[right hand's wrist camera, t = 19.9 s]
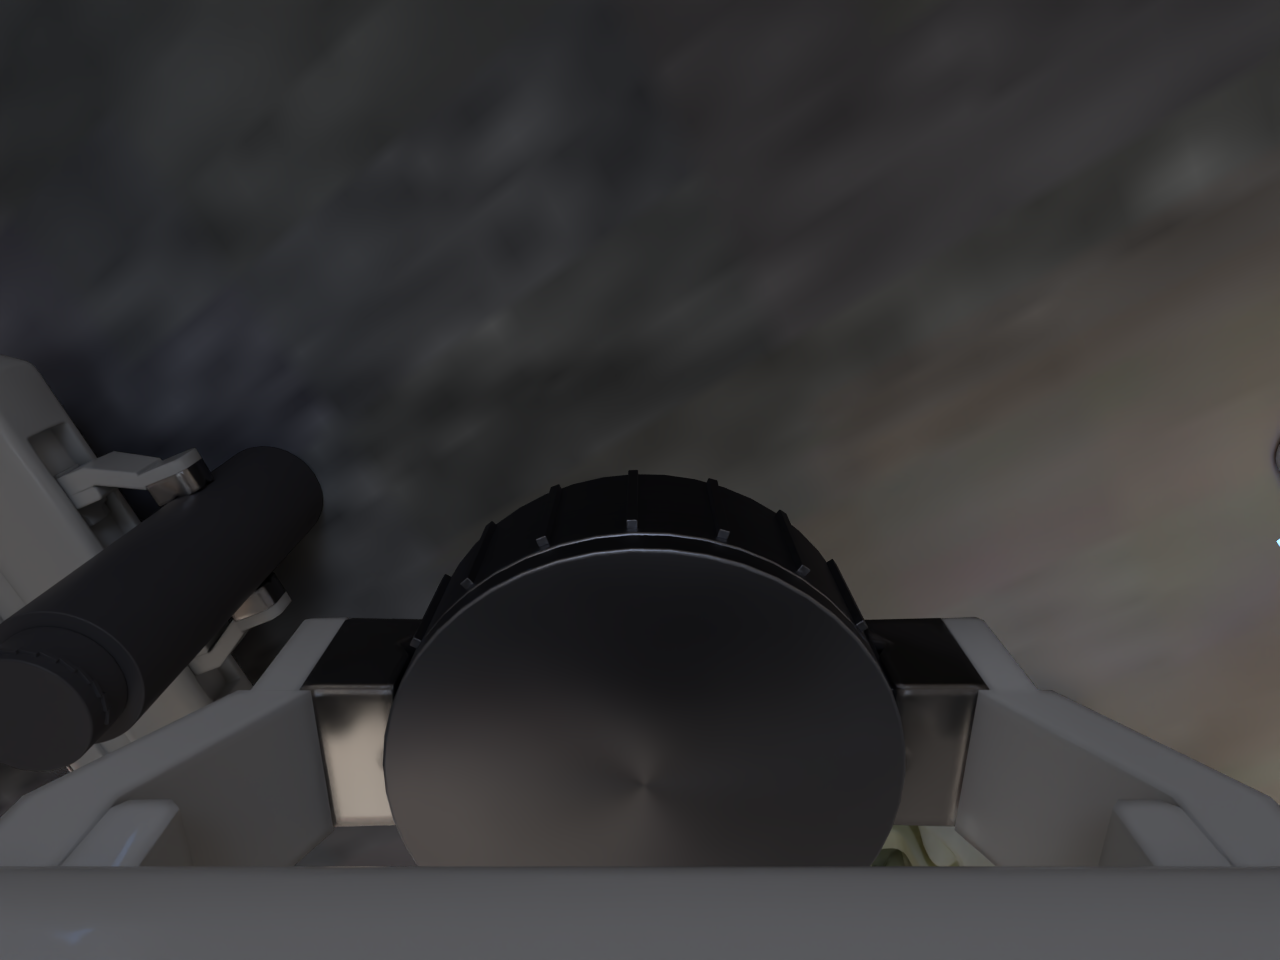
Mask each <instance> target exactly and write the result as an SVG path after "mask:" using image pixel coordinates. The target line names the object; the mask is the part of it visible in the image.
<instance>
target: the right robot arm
mask: <svg viewBox="0 0 1280 960" xmlns="http://www.w3.org/2000/svg"><path fill="white" fill-rule="evenodd" d="M1275 460H1276V465H1277V467H1278V469H1279V471H1280V444H1279V446H1278V449H1277V452H1276V458H1275ZM1277 543H1278V544H1279V545H1280V539H1279V540H1278V541H1277ZM421 621H422V619H379V618H351V619H350V618H348V617H334V618H310V619H305V620H304V621H303V622H302V623H301V625H300V626H299V627H298V629H297V630H296V631H295V633H294V634H293V635H292V636H291V638H290V639H289V640H288V642H287V643H286V644H285V646H284V647H283V648H282V649H281V651H280V652H279V653H278V655H277V656H276V657H275V659H274V660H273V661H272V663H271V664H270V665H269V666H268V668H267V669H266V670H265V672H264V673H263V674H262V676H261V677H260V678H259V679H258V681H257V682H256V683H255V685H254V686H253V687H252V689H251V690H237V691H235V692H233V693H231V694H229V695H227V696H225V697H223V698H221V699H219V700H217V701H215V702H213V703H210V704H208V705H206V706H204V707H202V708H200V709H198V710H196V711H194V712H192V713H190V714H188V715H186V716H184V717H182V718H180V719H178V720H176V721H174V722H172V723H170V724H168V725H166V726H164V727H162V728H160V729H158V730H155V731H153V732H151V733H149V734H147V735H145V736H143V737H141V738H139V739H137V740H135V741H133V742H131V743H129V744H127V745H125V746H123V747H121V748H119V749H117V750H115V751H113V752H111V753H109V754H107V755H105V756H102V757H100V758H98V759H96V760H94V761H92V762H90V763H88V764H86V765H84V766H82V767H80V768H78V769H76V770H74V771H72V772H70V773H68V774H66V775H64V776H62V777H60V778H58V779H56V780H54V781H52V782H50V783H47V784H45V785H43V786H41V787H39V788H37V789H35V790H33V791H31V792H29V793H27V794H25V795H23V796H22V797H21V798H20V799H19V800H18V801H17V802H16V803H15V804H14V805H13V806H12V807H11V808H10V809H9V810H8V811H7V812H6V813H5V814H4V815H3V816H2V817H1V818H0V960H1280V806H1279V805H1278V804H1277V803H1276V802H1275V801H1274V800H1273V799H1272V798H1271V797H1269V796H1267V795H1265V794H1263V793H1261V792H1259V791H1257V790H1255V789H1253V788H1251V787H1249V786H1247V785H1245V784H1243V783H1241V782H1239V781H1237V780H1235V779H1233V778H1231V777H1228V776H1226V775H1224V774H1222V773H1220V772H1218V771H1216V770H1214V769H1212V768H1210V767H1208V766H1206V765H1204V764H1202V763H1200V762H1198V761H1196V760H1194V759H1192V758H1189V757H1187V756H1185V755H1183V754H1181V753H1179V752H1177V751H1175V750H1173V749H1171V748H1169V747H1167V746H1165V745H1163V744H1161V743H1159V742H1157V741H1155V740H1153V739H1151V738H1148V737H1146V736H1144V735H1142V734H1140V733H1138V732H1136V731H1134V730H1132V729H1130V728H1128V727H1126V726H1124V725H1122V724H1120V723H1118V722H1116V721H1114V720H1112V719H1109V718H1107V717H1105V716H1103V715H1101V714H1099V713H1097V712H1095V711H1093V710H1091V709H1089V708H1087V707H1085V706H1083V705H1081V704H1079V703H1077V702H1075V701H1073V700H1071V699H1068V698H1066V697H1064V696H1062V695H1060V694H1058V693H1056V692H1054V691H1052V690H1038V689H1037V687H1036V686H1035V685H1034V684H1033V682H1032V681H1031V680H1030V679H1029V677H1028V676H1027V675H1026V674H1025V672H1024V671H1023V670H1022V668H1021V667H1020V666H1019V665H1018V663H1017V662H1016V661H1015V660H1014V658H1013V657H1012V656H1011V655H1010V653H1009V652H1008V651H1007V649H1006V648H1005V647H1004V646H1003V644H1002V643H1001V642H1000V641H999V639H998V638H997V637H996V635H995V634H994V633H993V632H992V630H991V629H990V628H989V627H988V625H987V624H986V623H985V622H984V620H982V619H979V618H977V617H963V618H924V619H883V620H865V622H866V624H867V626H868V628H867V629H866V630H864V631H865V634H866V636H867V638H868V639H870V640H872V642H873V644H874V646H875V648H876V650H877V652H878V654H879V662H880V664H881V666H882V668H883V670H884V672H885V674H886V676H887V678H888V680H889V682H890V684H891V686H892V688H893V695H894V698H895V701H896V704H897V707H898V710H899V713H900V716H901V721H902V728H903V734H904V740H905V778H904V784H903V790H902V796H901V802H900V806H899V809H898V812H897V815H896V818H895V821H894V824H893V825H913V826H949V827H955V829H954V830H955V831H956V832H957V833H958V834H960V835H961V836H962V837H963V838H964V839H965V840H966V841H967V842H969V843H970V844H971V845H972V846H973V847H974V848H975V849H977V850H978V851H979V852H980V853H981V854H982V855H983V856H985V857H986V858H987V859H988V860H989V861H990V862H991V863H992V864H994V865H995V866H294V865H295V864H297V863H298V862H299V861H300V860H301V859H302V858H303V857H305V856H306V855H307V854H308V853H309V852H310V851H311V850H312V849H314V848H315V847H316V846H317V845H318V844H319V843H320V842H321V841H323V840H324V839H325V838H326V837H327V836H328V835H329V834H330V833H332V832H333V831H334V829H333V827H339V826H374V825H395V823H394V821H393V817H392V813H391V810H390V806H389V802H388V799H387V795H386V789H385V780H384V771H383V749H384V734H385V730H386V725H387V721H388V716H389V712H390V707H391V705H392V702H393V700H394V697H395V695H396V692H397V690H398V687H399V685H400V682H401V680H402V678H403V676H404V673H405V671H406V669H407V667H408V665H409V663H410V661H411V659H412V657H413V655H414V652H415V650H416V648H414V647H412V646H410V643H411V641H412V639H413V637H414V635H415V633H416V631H417V629H418V627H419V625H420V623H421Z"/></svg>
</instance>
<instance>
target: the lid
mask: <svg viewBox="0 0 1280 960" xmlns="http://www.w3.org/2000/svg"><path fill="white" fill-rule="evenodd" d="M867 628H868V626H867V624H866V622H865V620H864V618H863V616H862V614H861V612H860V610H859V608H858V606H857V604H856V602H855V600H854V598H853V596H852V594H851V592H850V590H849V588H848V586H847V584H846V582H845V580H844V578H843V576H842V574H841V572H840V570H839V568H838V566H837V564H836V563H835V562H834V560H833V559H831V560H830V561H828V562H826V561H825V559H824V558H823V557H822V555H821V554H820V553H819V551H818V550H817V549H816V548H815V547H814V546H813V545H812V544H811V543H810V542H809V541H808V540H807V539H806V538H805V537H804V536H803V534H802V533H801V532H800V531H799V530H797V529H796V528H795V527H793V526H792V525H791V523H790V521H789V519H788V516H787V514H786V513H784V512H783V511H781V510H779V511H778V512H777V513H775V512H773V511H772V510H770V509H768V508H766V507H765V506H763V505H761V504H759V503H758V502H756V501H754V500H753V499H751V498H748V497H746V496H743V495H741V494H739V493H736V492H734V491H731V490H729V489H727V488H724V487H721V486H718V482H717V480H714V479H710V478H709V479H708V481H707V483H706V482H703V481H699V480H695V479H689V478H682V477H675V476H668V475H643V474H638V470H629V471H628V475H622V476H612V477H603V478H598V479H594V480H590V481H585V482H581V483H577V484H573V485H570V486H567V487H565V488H562V489H561V487H560V485H559V484H558V485H556V486H553V487H551V489H550V492H549V493H548V494H546V495H544V496H542V497H540V498H538V499H536V500H534V501H532V502H530V503H528V504H526V505H524V506H522V507H521V508H519V509H517V510H516V511H515V512H513V513H512V514H510V515H509V516H507V517H506V518H505V519H503V520H502V521H500V522H499V523H498V524H495V523H494V522H493V521H491V522H490V523H489V524H488V525H486V527H485V529H484V531H483V534H482V536H481V538H480V540H479V541H478V542H477V543H476V544H475V545H474V546H473V548H472V549H471V550H470V551H469V552H468V554H467V555H466V556H465V557H464V559H463V560H462V561H461V562H460V564H459V565H458V567H457V568H456V570H455V572H454V574H453V575H452V577H450V576H448V575H446V574H445V575H444V577H443V578H442V580H441V582H440V584H439V586H438V588H437V590H436V592H435V594H434V596H433V598H432V600H431V602H430V604H429V607H428V609H427V611H426V613H425V615H424V617H423V619H422V621H421V623H420V625H419V627H418V629H417V631H416V633H415V635H414V637H413V639H412V641H411V643H410V646H412V647H414V648H416V650H415V652H414V655H413V657H412V659H411V661H410V663H409V665H408V667H407V669H406V671H405V673H404V676H403V678H402V680H401V682H400V685H399V687H398V690H397V692H396V695H395V697H394V700H393V702H392V705H391V707H390V712H389V716H388V721H387V725H386V730H385V734H384V749H383V771H384V780H385V789H386V795H387V799H388V802H389V806H390V810H391V813H392V817H393V821H394V823H395V825H396V827H397V829H398V832H399V834H400V836H401V838H402V841H403V843H404V845H405V847H406V848H407V850H408V852H409V853H410V855H411V856H412V858H413V860H414V861H415V863H416V864H417V866H871V865H872V863H873V862H874V860H875V859H876V858H877V856H878V855H879V853H880V851H881V849H882V847H883V845H884V843H885V841H886V839H887V837H888V835H889V833H890V831H891V829H892V827H893V824H894V821H895V818H896V815H897V812H898V809H899V806H900V802H901V796H902V790H903V784H904V778H905V740H904V734H903V728H902V721H901V716H900V713H899V710H898V707H897V704H896V701H895V698H894V695H893V688H892V686H891V684H890V682H889V680H888V678H887V676H886V674H885V672H884V670H883V668H882V666H881V664H880V662H879V654H878V652H877V650H876V648H875V646H874V644H873V642H872V640H870V639H868V638H867V636H866V634H865V631H864V630H866V629H867Z"/></svg>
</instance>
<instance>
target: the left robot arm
mask: <svg viewBox="0 0 1280 960" xmlns="http://www.w3.org/2000/svg"><path fill="white" fill-rule="evenodd" d="M213 479H214V477H213V475H212V474H211V472H210V470H209V469H208V467H207V465H206V464H205V462H204V460H203V459H202V458H201V456H200V454H199V453H198V451H197V450H196V448H191V449H189V450H187V451H184V452H182V453H179V454H177V455H175V456H172V457H170V458H167V459H165V460H163V461H162V460H161V458H156V457H150V456H143V455H137V454H130V453H124V452H117V451H113V452H111V453H108V454H106V455H104V456H101V457H99V458H97V457H96V455H95V454H94V452H93V451H92V450H91V448H90V447H89V445H88V444H87V442H86V441H85V439H84V438H83V436H82V435H81V433H80V432H79V430H78V429H77V428H76V426H75V425H74V423H73V422H72V420H71V419H70V417H69V416H68V414H67V413H66V411H65V410H64V408H63V407H62V406H61V404H60V403H59V401H58V400H57V398H56V397H55V395H54V394H53V392H52V391H51V389H50V388H49V386H48V385H47V383H46V382H45V380H44V379H43V377H42V376H41V374H40V373H39V371H38V370H37V369H36V368H35V366H33V365H32V364H31V363H29V362H27V361H24V360H21V359H17V358H13V357H9V356H5V355H0V624H1V623H2V622H3V621H5V620H6V619H7V618H9V617H10V616H12V615H13V614H14V613H16V612H17V611H19V610H20V609H21V608H23V607H24V606H25V605H27V604H28V603H30V602H31V601H32V600H34V599H35V598H37V597H38V596H39V595H41V594H42V593H44V592H45V591H46V590H48V589H49V588H51V587H52V586H53V585H55V584H56V583H58V582H59V581H60V580H62V579H63V578H65V577H66V576H67V575H69V574H70V573H72V572H73V571H74V570H76V569H77V568H78V567H80V566H81V565H83V564H84V563H85V562H87V561H88V560H90V559H91V558H92V557H94V556H95V555H97V554H98V553H99V552H101V551H102V550H104V549H105V548H106V547H108V546H109V545H111V544H112V543H113V542H115V541H116V540H118V539H119V538H120V537H122V536H123V535H125V534H126V533H127V532H129V531H130V530H132V529H133V528H134V527H136V526H137V525H138V524H140V523H141V521H140V520H139V518H138V517H137V515H136V514H135V513H134V511H133V510H132V508H131V507H130V505H129V504H128V502H127V501H126V499H125V498H124V496H123V495H122V493H121V492H120V491H119V489H118V488H130V489H141V490H148V491H149V492H150V494H151V495H152V497H153V498H154V499H155V501H156V502H157V504H158V505H159V507H160V506H162V505H165V504H167V503H169V502H171V501H173V500H175V499H176V498H177V497H179V496H181V497H183V496H187V495H189V494H191V493H194V492H195V491H197V490H199V489H201V488H202V487H204V486H205V484H206V483H208V482H210V481H212V480H213ZM291 601H292V600H291V598H290V597H289V595H288V593H287V592H286V590H285V589H284V588H283V586H282V584H281V583H280V581H279V580H278V578H277V577H276V575H275V573H271V574H270V575H269V576H268V577H267V578H266V579H265V580H264V581H263V582H262V584H261V585H260V586H259V587H258V588H257V589H256V590H255V591H254V592H253V593H252V595H251V596H250V597H249V598H248V599H247V600H246V601H245V602H244V603H243V605H242V606H241V607H240V608H239V609H238V610H237V611H236V612H235V613H234V615H233V618H234V619H233V620H232V622H231V623H229V622H228V621H227V622H226V623H225V625H224V626H223V627H222V628H221V629H220V630H219V631H218V632H217V633H216V635H215V636H214V637H213V638H212V639H211V640H210V641H209V642H208V643H207V644H206V646H205V647H204V648H203V649H202V650H201V651H200V652H199V653H198V654H197V656H196V657H195V658H194V659H193V660H192V661H191V662H190V663H189V664H188V666H187V667H186V668H185V669H184V670H183V671H182V672H181V673H180V674H179V676H178V677H177V678H176V679H175V680H174V681H173V682H172V683H171V684H170V685H169V687H168V688H167V689H166V690H165V691H164V692H163V693H162V694H161V695H160V697H159V698H158V699H157V700H156V701H155V702H154V703H153V704H152V705H151V707H150V708H149V709H148V710H147V711H146V712H145V713H144V714H143V715H142V717H141V718H140V719H139V720H138V721H137V722H136V723H135V724H134V725H133V726H132V727H131V728H130V729H129V730H128V731H127V732H125V733H124V734H122V735H121V736H119V737H117V738H115V739H112V740H109V741H106V742H103V743H98V744H94V745H93V746H92V747H91V748H90V749H89V750H88V751H87V752H86V753H85V754H84V755H83V756H82V757H81V758H80V759H79V760H77V761H76V762H75V763H73V764H71V765H69V766H66V768H67V769H68V771H69V773H70V772H72V771H74V770H76V769H78V768H80V767H82V766H84V765H86V764H88V763H90V762H92V761H94V760H96V759H98V758H100V757H102V756H105V755H107V754H109V753H111V752H113V751H115V750H117V749H119V748H121V747H123V746H125V745H127V744H129V743H131V742H133V741H135V740H137V739H139V738H141V737H143V736H145V735H147V734H149V733H151V732H153V731H155V730H158V729H160V728H162V727H164V726H166V725H168V724H170V723H172V722H174V721H176V720H178V719H180V718H182V717H184V716H186V715H188V714H190V713H192V712H194V711H196V710H198V709H200V708H202V707H204V706H206V705H208V704H210V703H213V702H215V701H217V700H219V699H221V698H223V697H225V696H227V695H229V694H231V693H233V692H235V691H237V690H251V689H252V687H253V685H252V684H251V682H250V681H249V679H248V678H247V676H246V675H245V674H244V672H243V671H242V669H241V668H240V666H239V665H238V663H237V662H236V660H235V659H234V657H233V656H232V654H231V653H232V651H233V650H234V649H235V648H236V647H237V645H238V644H239V643H240V642H241V641H242V639H243V638H244V636H245V635H246V634H247V632H248V631H249V629H250V628H252V627H255V626H257V625H260V624H262V623H265V622H267V621H270V620H273V619H274V618H276V617H277V616H279V615H280V614H281V613H282V612H283V611H284V610H285V609H286V607H287V606H288V605H289V603H290V602H291Z"/></svg>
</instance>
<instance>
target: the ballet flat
mask: <svg viewBox="0 0 1280 960" xmlns="http://www.w3.org/2000/svg"><path fill="white" fill-rule="evenodd" d="M954 829H955V827H949V826H913V825H893V827H892V829H891V831H890V833H889V835H888V837H887V839H886V841H885V843H884V845H883V847H882V849H881V851H880V853H879V855H878V856H877V858H876V859H875V860H874V862H873V863H872V865H871V866H995V865H994V864H992V863H991V862H990V861H989V860H988V859H987V858H986V857H985V856H983V855H982V854H981V853H980V852H979V851H978V850H977V849H975V848H974V847H973V846H972V845H971V844H970V843H969V842H967V841H966V840H965V839H964V838H963V837H962V836H961V835H960V834H958V833H957V832H956V831H955V830H954Z"/></svg>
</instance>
